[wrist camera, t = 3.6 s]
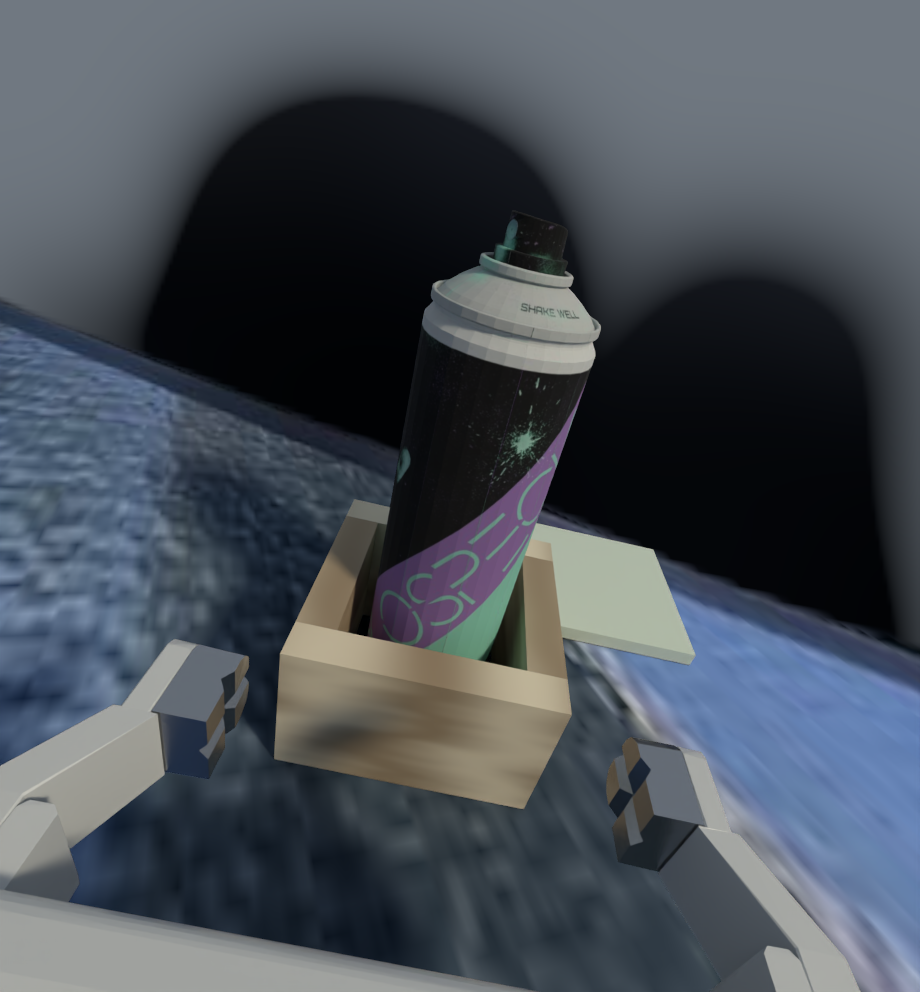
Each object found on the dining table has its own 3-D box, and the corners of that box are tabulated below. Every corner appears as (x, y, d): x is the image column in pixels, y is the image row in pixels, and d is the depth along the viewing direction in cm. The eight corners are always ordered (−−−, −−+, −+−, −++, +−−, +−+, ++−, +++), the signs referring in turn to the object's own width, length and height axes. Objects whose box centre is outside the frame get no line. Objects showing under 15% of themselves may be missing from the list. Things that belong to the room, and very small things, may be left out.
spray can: (334, 687, 24) (405, 184, 14) (405, 621, 28) (499, 202, 18) (434, 759, 22) (603, 238, 12) (493, 676, 26) (654, 244, 16)
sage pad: (518, 628, 30) (522, 617, 29) (515, 528, 38) (518, 519, 38) (689, 665, 30) (695, 655, 30) (648, 558, 39) (653, 549, 38)
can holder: (273, 759, 21) (280, 653, 18) (342, 589, 29) (354, 499, 26) (523, 809, 21) (571, 714, 18) (518, 628, 30) (550, 543, 27)
